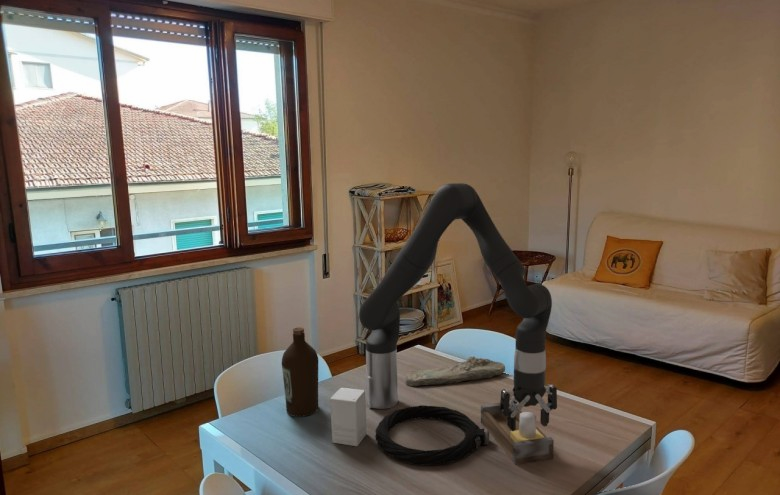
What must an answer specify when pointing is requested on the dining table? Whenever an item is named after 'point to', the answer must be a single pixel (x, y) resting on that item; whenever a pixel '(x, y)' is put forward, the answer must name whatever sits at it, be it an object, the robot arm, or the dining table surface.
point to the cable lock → (430, 457)
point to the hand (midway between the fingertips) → (527, 427)
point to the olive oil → (300, 376)
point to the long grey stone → (456, 372)
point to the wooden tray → (501, 433)
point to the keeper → (526, 428)
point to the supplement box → (348, 416)
